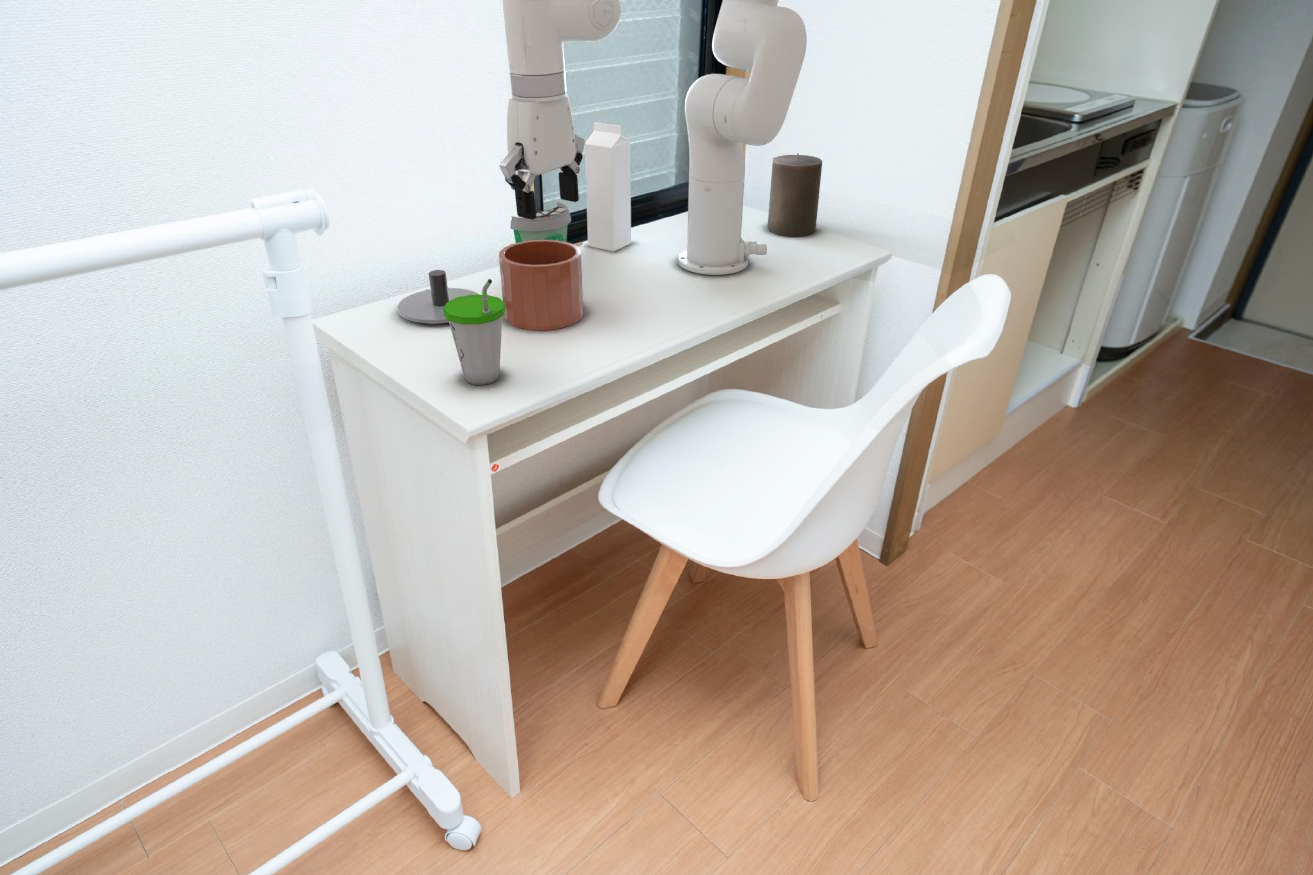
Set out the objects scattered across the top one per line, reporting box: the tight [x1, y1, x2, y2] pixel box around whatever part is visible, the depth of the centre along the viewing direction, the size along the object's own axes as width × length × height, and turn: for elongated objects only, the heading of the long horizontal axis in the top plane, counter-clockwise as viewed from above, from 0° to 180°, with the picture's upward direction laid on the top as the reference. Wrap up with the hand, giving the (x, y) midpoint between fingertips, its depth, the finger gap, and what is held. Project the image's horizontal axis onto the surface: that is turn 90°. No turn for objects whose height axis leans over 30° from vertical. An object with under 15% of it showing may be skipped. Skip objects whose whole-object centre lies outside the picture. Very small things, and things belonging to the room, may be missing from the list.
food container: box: [509, 201, 572, 243], centre depth 148 cm, size 12×6×10 cm, turn 143°
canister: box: [498, 240, 584, 331], centre depth 130 cm, size 12×12×10 cm
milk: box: [584, 121, 632, 252], centre depth 156 cm, size 6×6×22 cm
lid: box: [397, 269, 481, 324], centre depth 132 cm, size 13×13×6 cm
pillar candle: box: [767, 152, 823, 237], centre depth 167 cm, size 10×10×15 cm
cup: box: [443, 278, 506, 386], centre depth 110 cm, size 8×8×15 cm
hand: (548, 208), depth 125 cm, fingers open, 9 cm apart
